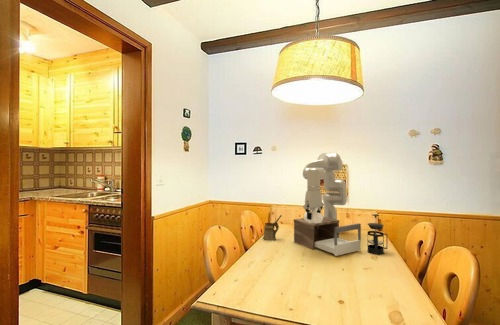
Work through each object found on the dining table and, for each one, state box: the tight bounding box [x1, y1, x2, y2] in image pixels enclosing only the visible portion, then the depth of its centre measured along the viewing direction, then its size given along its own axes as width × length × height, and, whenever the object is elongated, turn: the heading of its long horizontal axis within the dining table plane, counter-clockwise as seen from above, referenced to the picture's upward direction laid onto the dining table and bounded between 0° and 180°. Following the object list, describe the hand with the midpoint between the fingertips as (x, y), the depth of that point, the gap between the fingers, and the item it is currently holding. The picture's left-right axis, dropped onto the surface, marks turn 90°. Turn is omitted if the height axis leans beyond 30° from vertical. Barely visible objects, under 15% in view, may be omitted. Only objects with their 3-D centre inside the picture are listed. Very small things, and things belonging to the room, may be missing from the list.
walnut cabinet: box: [293, 217, 340, 250], centre depth 181 cm, size 25×18×16 cm
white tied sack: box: [303, 207, 324, 223], centre depth 160 cm, size 12×8×11 cm
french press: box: [366, 213, 388, 256], centre depth 161 cm, size 12×9×23 cm
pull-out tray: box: [315, 222, 362, 257], centre depth 165 cm, size 22×18×16 cm
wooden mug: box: [262, 214, 282, 241], centre depth 189 cm, size 9×14×18 cm, turn 72°
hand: (313, 218), depth 159 cm, fingers closed on white tied sack, 6 cm apart
